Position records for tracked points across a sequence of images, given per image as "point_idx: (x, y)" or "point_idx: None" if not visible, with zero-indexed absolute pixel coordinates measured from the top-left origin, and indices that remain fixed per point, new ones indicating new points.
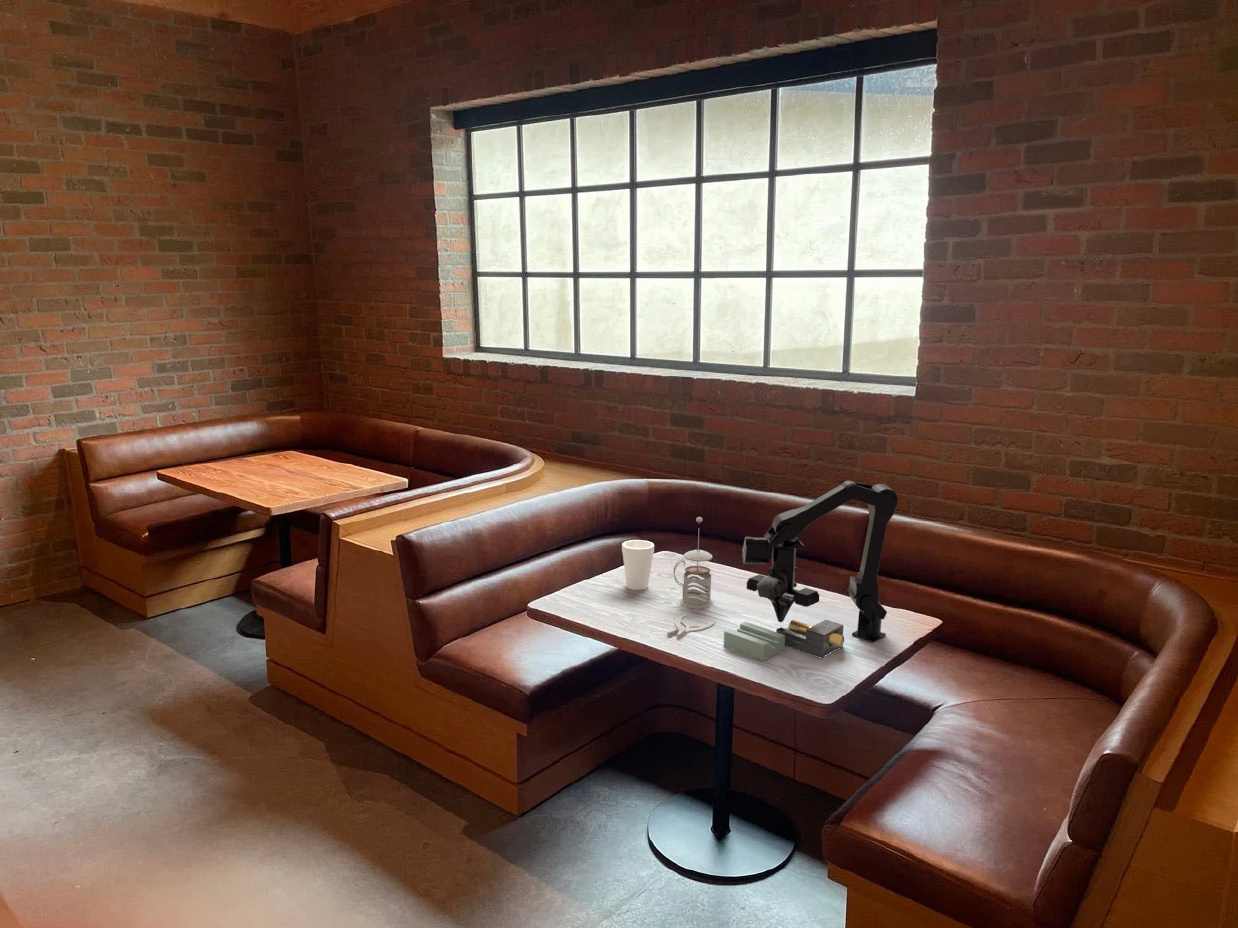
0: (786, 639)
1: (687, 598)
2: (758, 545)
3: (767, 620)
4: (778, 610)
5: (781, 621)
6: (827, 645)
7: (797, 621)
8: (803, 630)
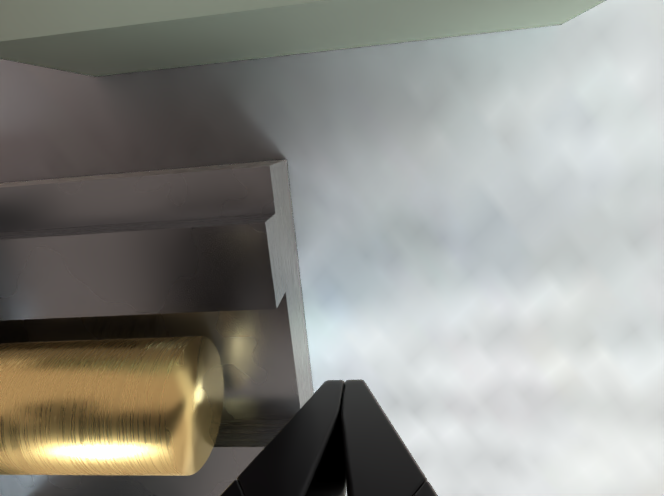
0: (120, 177)
1: None
2: None
3: (606, 473)
4: (347, 489)
5: (323, 392)
6: None
7: (100, 451)
8: (3, 359)
